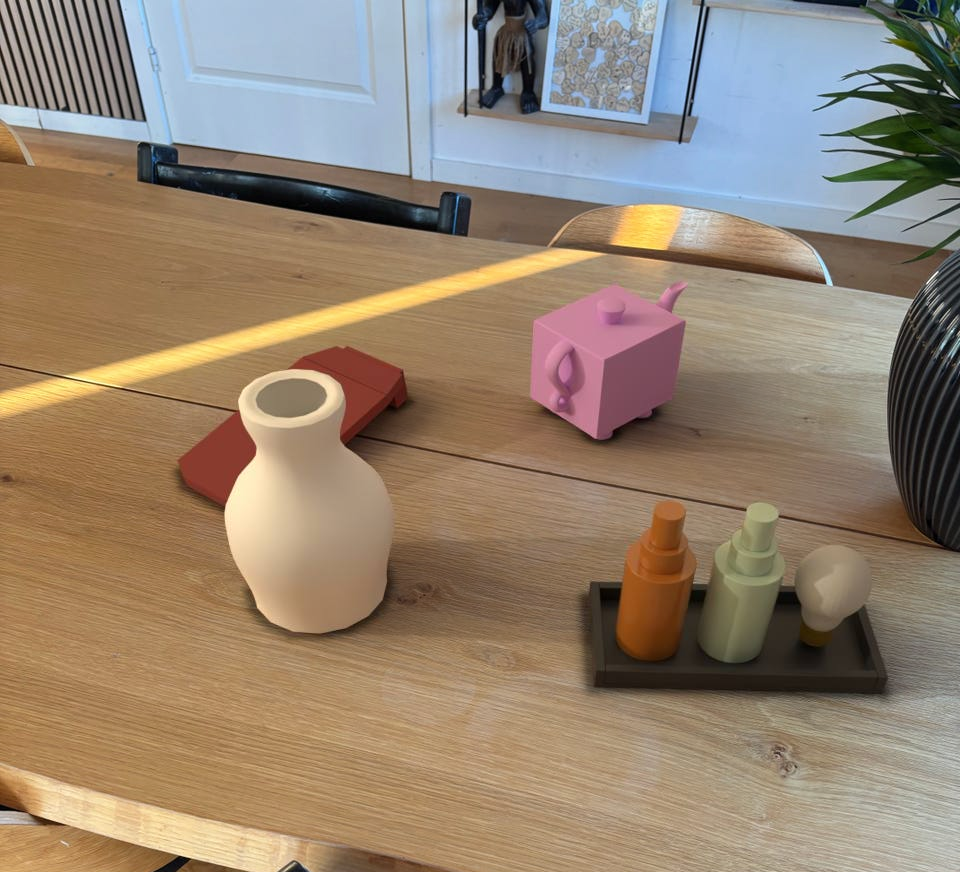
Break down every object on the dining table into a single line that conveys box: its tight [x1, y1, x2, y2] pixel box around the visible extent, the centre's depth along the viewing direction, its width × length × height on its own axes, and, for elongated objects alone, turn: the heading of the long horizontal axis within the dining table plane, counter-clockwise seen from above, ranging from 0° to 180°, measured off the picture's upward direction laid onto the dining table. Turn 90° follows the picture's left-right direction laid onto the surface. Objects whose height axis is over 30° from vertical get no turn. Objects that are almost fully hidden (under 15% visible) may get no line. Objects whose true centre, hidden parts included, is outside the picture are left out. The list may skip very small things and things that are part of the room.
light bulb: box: [794, 544, 873, 646], centre depth 83 cm, size 6×6×10 cm
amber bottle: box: [615, 499, 698, 661], centre depth 82 cm, size 6×6×14 cm
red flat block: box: [177, 345, 409, 508], centre depth 107 cm, size 12×5×25 cm
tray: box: [587, 581, 889, 694], centre depth 86 cm, size 24×11×2 cm, turn 88°
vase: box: [224, 369, 396, 634], centre depth 85 cm, size 14×14×20 cm
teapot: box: [529, 281, 688, 441], centre depth 107 cm, size 20×10×12 cm, turn 131°
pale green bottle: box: [697, 501, 787, 663], centre depth 82 cm, size 6×6×14 cm
